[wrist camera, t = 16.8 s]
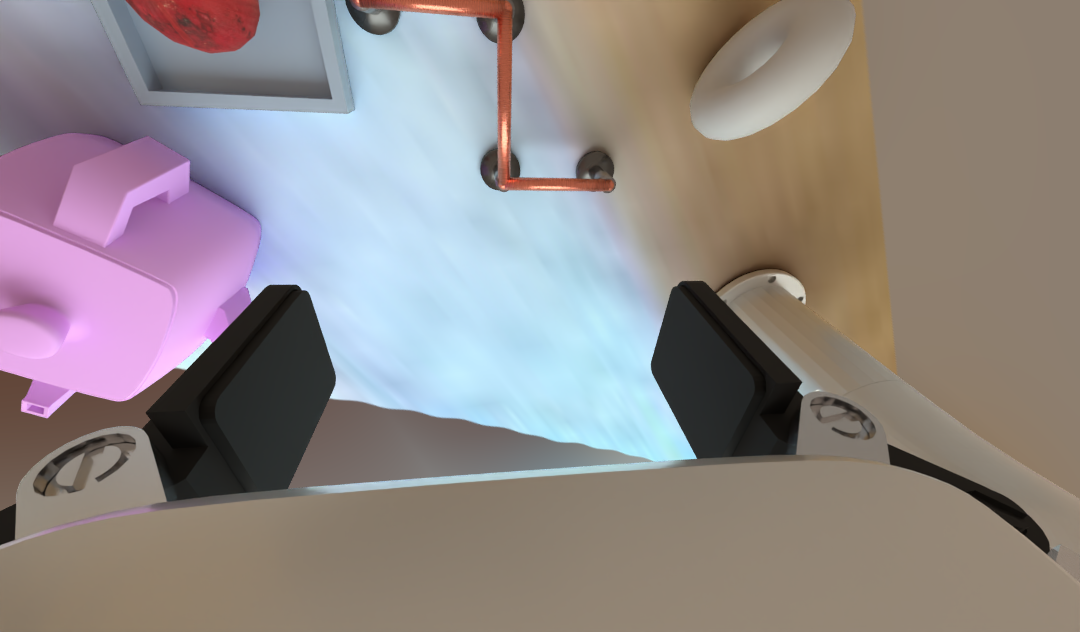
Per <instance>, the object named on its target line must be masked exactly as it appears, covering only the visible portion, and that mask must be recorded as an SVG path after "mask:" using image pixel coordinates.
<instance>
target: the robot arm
mask: <svg viewBox="0 0 1080 632" xmlns="http://www.w3.org/2000/svg"><path fill="white" fill-rule="evenodd" d="M805 303H806V293H805V289H804V287H803V285H802V284H801V282H800V281H799V280H798V279H796V278H795V277H794V276H793V275H791V274H789V273H787V272H785V271H782V270H778V269H765V270H758V271H755V272H751V273H748V274H745V275H743V276H741V277H739V278H737V279H735V280H734V281H732V282H730V283H729V284H727V285H726V286H724V287H723V288H722V289H721V290H720V291H719V292H717V293H715V292H714V291H713V290H712V289H711V288H710V287H709V286H708V285H707V284H706V283H705V282H703V281H682V282H680V283H679V284H678V286H677V287H673V289H672V291H671V294H670V297H669V301H668V304H667V308H666V311H665V315H664V319H663V322H662V326H661V329H660V333H659V336H658V340H657V343H656V347H655V350H654V354H653V357H652V361H651V370H652V374H653V376H654V378H655V380H656V381H657V383H658V385H659V387H660V389H661V391H662V393H663V395H664V397H665V399H666V400H667V402H668V404H669V406H670V408H671V410H672V412H673V414H674V416H675V417H676V419H677V421H678V423H679V425H680V427H681V429H682V431H683V433H684V434H685V436H686V438H687V440H688V442H689V444H690V446H691V448H692V450H693V452H694V453H695V455H696V457H697V459H689V460H674V461H659V462H645V463H630V464H614V465H599V466H585V467H570V468H557V469H542V470H528V471H514V472H501V473H488V474H474V475H460V476H447V477H433V478H420V479H407V480H394V481H381V482H368V483H356V484H343V485H331V486H317V487H305V488H294V489H288V487H289V485H290V483H291V480H292V478H293V476H294V474H295V472H296V470H297V467H298V465H299V463H300V461H301V459H302V457H303V454H304V452H305V450H306V448H307V446H308V443H309V441H310V439H311V437H312V435H313V433H314V430H315V428H316V426H317V424H318V422H319V420H320V417H321V415H322V413H323V411H324V409H325V407H326V404H327V402H328V400H329V398H330V396H331V394H332V391H333V389H334V387H335V382H336V375H335V371H334V368H333V365H332V362H331V359H330V356H329V353H328V350H327V347H326V343H325V340H324V337H323V334H322V331H321V328H320V325H319V322H318V319H317V316H316V313H315V310H314V307H313V303H312V300H311V297H310V295H309V293H308V292H307V291H302V290H301V288H300V287H299V286H297V285H269V286H267V287H266V288H265V289H264V290H263V291H262V292H261V293H260V294H259V295H258V296H257V297H256V298H255V299H254V300H253V301H252V302H251V303H250V304H249V305H248V306H247V308H246V309H245V310H244V311H243V312H242V313H241V314H240V315H239V316H238V317H237V318H236V319H235V320H234V321H233V322H232V323H231V324H230V325H229V326H228V327H227V328H226V329H225V330H224V331H223V333H222V334H221V335H220V336H219V337H218V338H217V339H216V340H215V341H214V342H213V343H212V344H211V345H210V346H209V347H208V348H207V349H206V350H205V351H204V352H203V353H202V354H201V355H200V356H199V358H198V359H197V360H196V361H195V362H194V363H193V364H192V365H191V366H190V367H189V368H188V369H187V370H186V371H185V372H184V373H183V374H182V375H181V376H180V378H178V379H177V380H176V381H175V383H174V384H173V385H172V386H171V387H170V388H169V389H168V390H167V391H166V392H165V393H164V394H163V395H162V396H161V397H160V398H159V399H158V400H157V401H156V402H155V404H153V405H152V406H151V408H150V409H149V410H148V411H147V412H146V414H147V415H148V417H149V418H150V419H151V420H150V421H149V422H148V423H147V424H146V425H145V426H144V427H143V429H139V428H136V427H126V426H123V427H122V426H119V427H114V428H109V429H103V430H100V431H97V432H94V433H91V434H88V435H85V436H82V437H80V438H78V439H76V440H74V441H72V442H70V443H68V444H66V445H64V446H62V447H60V448H59V449H57V450H55V451H54V452H52V453H51V454H49V455H47V456H46V457H45V458H44V459H42V460H41V461H40V462H39V463H38V464H36V465H35V466H34V467H33V468H31V469H30V471H29V472H28V473H27V474H26V476H25V477H24V478H23V479H22V481H21V482H20V485H19V488H18V490H17V496H16V504H14V505H12V506H10V507H8V508H6V509H4V510H2V511H0V632H1080V499H1079V498H1077V497H1075V496H1074V495H1072V494H1071V493H1069V492H1067V491H1066V490H1064V489H1062V488H1061V487H1059V486H1057V485H1055V484H1054V483H1052V482H1051V481H1049V480H1047V479H1046V478H1044V477H1042V476H1041V475H1039V474H1037V473H1036V472H1034V471H1033V470H1031V469H1029V468H1028V467H1026V466H1024V465H1023V464H1021V463H1019V462H1018V461H1016V460H1014V459H1013V458H1012V457H1010V456H1009V455H1007V454H1005V453H1004V452H1002V451H1001V450H999V449H998V448H996V447H995V446H993V445H992V444H990V443H989V442H987V441H986V440H984V439H982V438H981V437H979V436H978V435H976V434H975V433H974V432H972V431H971V430H970V429H968V428H967V427H965V426H964V425H963V424H961V423H960V422H958V421H957V420H956V419H954V418H953V417H951V416H950V415H949V414H947V413H946V412H945V411H943V410H942V409H941V408H939V407H937V406H936V405H935V404H934V403H932V402H931V401H930V400H928V399H927V398H926V397H925V396H923V395H922V394H921V393H919V392H918V391H917V390H915V389H914V388H913V387H911V386H910V385H909V384H907V383H906V382H905V381H903V380H902V379H901V378H899V377H898V376H897V375H895V374H894V373H893V372H892V371H890V370H889V369H888V368H886V367H885V366H884V365H882V364H881V363H880V362H879V361H877V360H876V359H875V358H873V357H872V356H871V355H870V354H868V353H867V352H866V351H864V350H863V349H862V348H860V347H859V346H858V345H857V344H855V343H854V342H853V341H851V340H850V339H849V338H847V337H846V336H845V335H844V334H842V333H841V332H840V331H838V330H837V329H836V328H834V327H833V326H832V325H831V324H829V323H828V322H827V321H825V320H824V319H823V318H822V317H820V316H819V315H818V314H816V313H815V312H814V311H812V310H811V309H810V308H809V307H807V306H806V305H805Z"/></svg>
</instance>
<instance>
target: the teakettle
mask: <svg viewBox="0 0 1080 632" xmlns="http://www.w3.org/2000/svg"><path fill="white" fill-rule="evenodd" d="M260 240H261V226H260V223H259V221H258V220H257V219H256V218H254V217H253V216H252V215H250V214H249V213H247V212H246V211H244V210H242V209H241V208H239V207H238V206H236V205H234V204H233V203H231V202H229V201H227V200H226V199H224V198H222V197H220V196H219V195H217V194H215V193H213V192H212V191H210V190H208V189H206V188H205V187H203V186H201V185H199V184H197V183H196V182H194V181H192V180H190V160H189V159H187V158H185V157H184V156H182V155H180V154H178V153H177V152H175V151H173V150H172V149H170V148H168V147H166V146H165V145H163V144H161V143H160V142H158V141H156V140H154V139H153V138H151V137H149V136H146V137H143V138H141V139H138V140H136V141H133V142H130V143H128V144H125V145H123V144H121V143H118V142H116V141H114V140H112V139H109V138H106V137H104V136H99V135H92V134H82V133H65V134H61V135H57V136H53V137H50V138H46V139H43V140H40V141H37V142H34V143H31V144H28V145H26V146H23V147H21V148H18V149H15V150H13V151H11V152H9V153H7V154H4V155H2V156H0V370H3V371H6V372H9V373H13V374H16V375H20V376H24V377H27V378H30V379H33V381H32V384H31V386H30V388H29V391H28V393H27V395H26V397H25V398H24V399H23V400H22V405H21V411H23V412H26V413H31V414H34V415H38V416H42V417H46V418H48V417H49V416H50V415H51V414H52V413H53V412H54V411H55V410H56V409H57V408H58V407H60V406H61V405H62V404H63V403H64V402H65V401H66V400H67V399H68V398H69V397H70V396H71V395H72V394H74V392H76V391H77V392H81V393H85V394H89V395H93V396H96V397H101V398H104V399H108V400H113V401H126V400H128V399H130V398H132V397H133V396H135V395H136V394H138V393H140V392H141V391H143V390H144V389H145V388H147V387H148V386H150V385H151V384H153V383H154V382H155V381H157V380H158V379H160V378H161V377H163V376H164V375H165V374H167V373H168V372H169V371H171V370H172V369H173V368H175V367H176V366H178V365H179V364H180V363H181V362H183V361H184V360H185V359H186V358H187V357H189V356H190V355H191V354H192V353H193V352H194V351H195V350H196V349H197V348H198V347H199V346H201V345H202V344H203V343H204V341H205V340H206V339H207V338H208V339H210V340H211V342H212V343H213V342H214V341H215V340H216V339H217V338H218V337H219V336H220V335H221V334H222V333H223V331H224V330H225V329H226V328H227V327H228V326H229V325H230V324H231V323H232V322H233V321H234V320H235V319H236V318H237V317H238V316H239V315H240V314H241V313H242V312H243V311H244V310H245V309H246V308H247V306H248V305H249V304H250V303H251V299H250V295H249V291H248V288H246V287H245V286H246V283H247V281H248V279H249V276H250V273H251V270H252V267H253V264H254V261H255V258H256V254H257V251H258V248H259V244H260Z"/></svg>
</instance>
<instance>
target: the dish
mask: <svg viewBox="0 0 1080 632" xmlns="http://www.w3.org/2000/svg"><path fill="white" fill-rule="evenodd" d="M91 3H92V5H93V7H94V9H95V11H96V13H97V15H98V17H99V19H100V21H101V24H102V26H103V28H104V30H105V32H106V34H107V36H108V38H109V40H110V42H111V45H112V47H113V49H114V51H115V53H116V55H117V57H118V59H119V61H120V63H121V66H122V68H123V70H124V72H125V74H126V76H127V78H128V80H129V82H130V84H131V87H132V89H133V91H134V93H135V95H136V97H137V99H138V101H139V103H140V105H150V106H174V107H198V108H222V109H246V110H270V111H294V112H318V113H343V114H349V113H350V112H352V111H354V110H355V108H354V103H353V98H352V93H351V88H350V83H349V77H348V72H347V67H346V62H345V57H344V52H343V47H342V41H341V36H340V31H339V26H338V21H337V16H336V11H335V5H334V0H259V9H260V17H259V22H258V26H257V30H256V34H255V36H254V37H253V38H252V39H251V40H249V41H248V42H247V43H246V44H245V45H244V46H243V47H241V48H240V49H238V50H236V51H232V52H222V53H211V54H210V53H207V52H203V51H200V50H197V49H194V48H191V47H188V46H185V45H182V44H179V43H176V42H174V41H172V40H171V39H169V38H167V37H166V36H165V35H163V34H162V33H160V32H159V31H158V30H156V29H155V28H153V27H152V26H151V25H149V24H148V23H146V22H145V21H144V20H143V19H142V18H141V17H140V16H139V15H138V14H137V13H136V12H135V10H134V9H133V8H132V7H131V6H130V5H129V4H128V3H127V2H126V0H91Z"/></svg>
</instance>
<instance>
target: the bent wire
mask: <svg viewBox="0 0 1080 632" xmlns="http://www.w3.org/2000/svg"><path fill="white" fill-rule="evenodd" d="M345 1H346V5H347V8H348V10H349V13H350V15H351V16H352V18H353V19H354V21H355V22H356V23H357V24H358V25H359V26H360V27H361V28H362V29H364V30H365V31H367V32H369V33H372V34H377V35H383V34H387V33H389V32H391V31H392V30H393V29H394V28H395V27H396V25H397V24H398V21H399V18H400V11H408V12H420V13H432V14H444V15H456V16H468V17H476V18H477V22H478V25H479V27H480V29H481V31H482V33H483V34H484V35H485V36H486V37H487V38H488V39H489V40H491V41H493V42H495V43H497V98H498V149H494V150H491V151H489V152H488V153H487V154H486V155H485V156H484V158H483V159H482V162H481V168H480V169H481V176H482V178H483V180H484V182H485V183H486V184H487V185H488V186H489V187H490V188H492V189H495V190H500V191H502V192H507V191H509V190H533V191H591V192H595V191H603V192H604V193H610V192H612V191H613V190H614V189H615V186H616V182H615V180H614V179H613V178H612V177H613V174H614V165H613V162H612V160H611V159H610V158H609V157H608V156H607V155H606V154H605V153H602V152H599V151H594V152H590V153H588V154H586V155H585V156H584V157H583V158H582V159H581V160H580V161H579V163H578V165H577V168H576V178H521V177H519V176H520V165H519V162H518V160H517V158H516V157H515V155H514V154H513V153H511V87H512V40H514V39H515V38H516V37H517V36H518V35H519V33H520V31H521V29H522V27H523V24H524V17H525V13H524V6H523V2H522V0H345Z"/></svg>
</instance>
